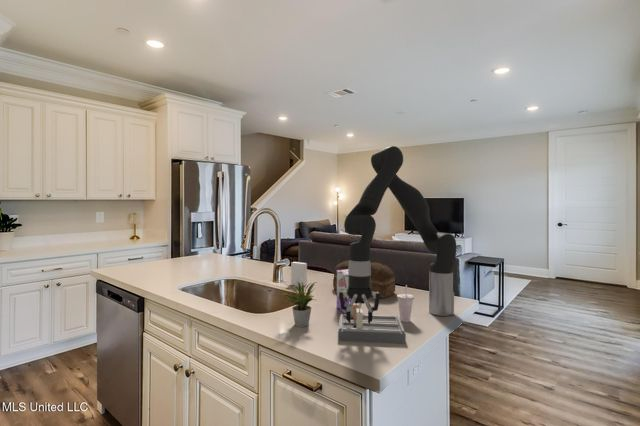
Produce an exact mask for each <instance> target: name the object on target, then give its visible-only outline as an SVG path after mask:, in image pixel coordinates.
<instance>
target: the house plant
mask: <svg viewBox="0 0 640 426" xmlns="http://www.w3.org/2000/svg"><path fill="white" fill-rule="evenodd" d="M316 283H318V281H316V282H313V283H312V282H311V283H308V284H307V285H306V286H304V284H303V283H302V286H301V285H300V283H299V282H298V286H296V285H295V286H292V285H287V284H285V286H287V287H288V288H287V289H288V290H290V289H291V290H290V291H291V292H292V293H293V294H294V295H291V294H289V293H283V292H280V294H281V295H284V296H285V297H287V299H285V300H284V302H288V301H291V302H292V303H294V304H295V305H294V306H293V307H292V314H293V320H294V325H295V326H296V327H298V328H299V327H300V328H301V327H302V328H303V327H308V326H309V325H310V319H311V311H312V307H311V306H310V305H308V304H309V302H312V301H317V300H316V298H315V299H313V298H314V297H315V296H312V295H311V294H312V293H313V291H314V290H315V288H316V287H315V288H313V287H314V286H315V284H316ZM294 287H295V288H296V289H295V288H294ZM312 297H313V298H312Z"/></svg>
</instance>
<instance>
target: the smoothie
mask: <svg viewBox="0 0 640 426" xmlns="http://www.w3.org/2000/svg"><path fill="white" fill-rule="evenodd" d="M404 290H405V293H399V294H397V296H396V298H397V303H398V312H399V313H398V315H399V318H400V321H401V323H402V322H403V323H409V322H411V316H412V309H413V302H414V299H415V298H414V297H415V296H414V295H413V294H410V293H409V294H408V285H407V284H406V285H405V289H404Z"/></svg>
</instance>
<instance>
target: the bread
mask: <svg viewBox="0 0 640 426" xmlns="http://www.w3.org/2000/svg"><path fill="white" fill-rule="evenodd" d="M370 265H371V291H372V292H379V293H380V299H381V298H382V299H385V298H388V297H390V296H392V295H393V294H394V293H395V292H396V281H395V278H396V276H395V272H393V270H392V269H391V268H390V267H389V266H388V265H385V264H382V263H380V262H377V261H376V262H371V261H370ZM346 269H348V270H349V260H345V261H342V262H339V263H338V264H337V265H336V266H335V268H334V270H333V280H332V288H333V289H334V291H335V290H336V291H337V270H346ZM370 297H373V295H371V296H370Z"/></svg>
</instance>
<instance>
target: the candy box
mask: <svg viewBox="0 0 640 426" xmlns="http://www.w3.org/2000/svg"><path fill="white" fill-rule="evenodd" d="M348 276H349V275H348V269H346V270H337V290H336V308H337V309H339V310H340V311H341V312H343V313H344V314H346V310H342V309H341V304H340V296H339V292H340V291H347V290H348ZM349 301H350V297H349V296H348V295H347V294H346V297H345V298H344V304H345V305H346V306H347V305H348V303H349ZM359 308H360V309H362V303H359ZM350 310H351V314H353V306H352V307H351V309H350Z"/></svg>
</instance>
